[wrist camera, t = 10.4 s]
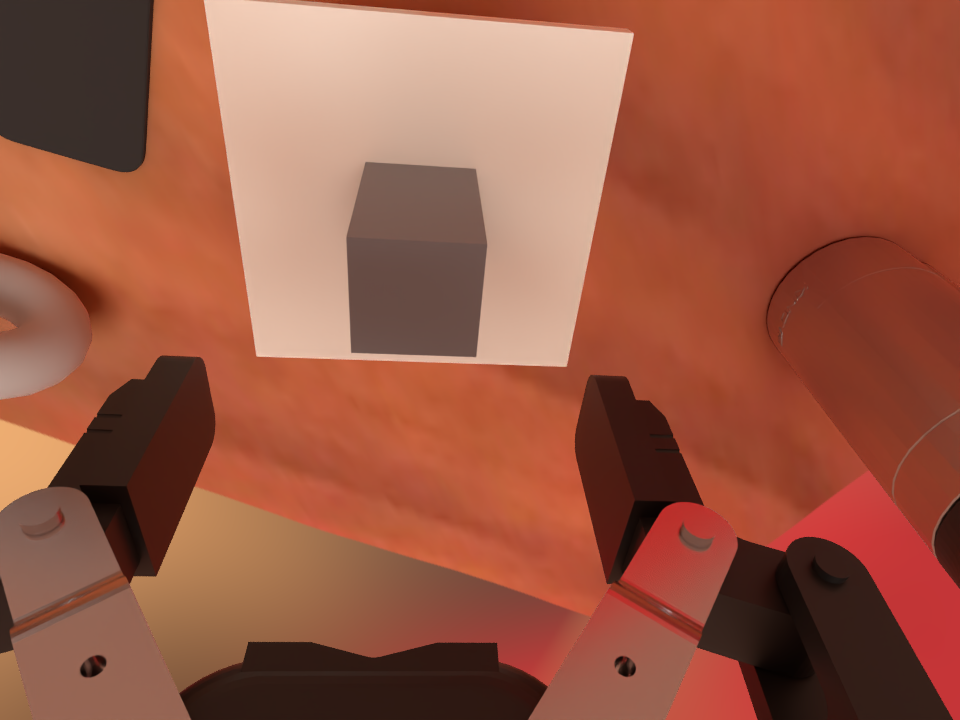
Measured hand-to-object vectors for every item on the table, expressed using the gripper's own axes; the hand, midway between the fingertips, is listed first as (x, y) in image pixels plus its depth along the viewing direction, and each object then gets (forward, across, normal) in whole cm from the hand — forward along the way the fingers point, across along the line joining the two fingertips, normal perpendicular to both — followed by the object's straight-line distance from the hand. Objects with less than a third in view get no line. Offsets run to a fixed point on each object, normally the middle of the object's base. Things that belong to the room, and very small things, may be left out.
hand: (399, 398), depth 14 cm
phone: (+24, +16, -4) cm, 29 cm away
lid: (+10, 0, 0) cm, 10 cm away
